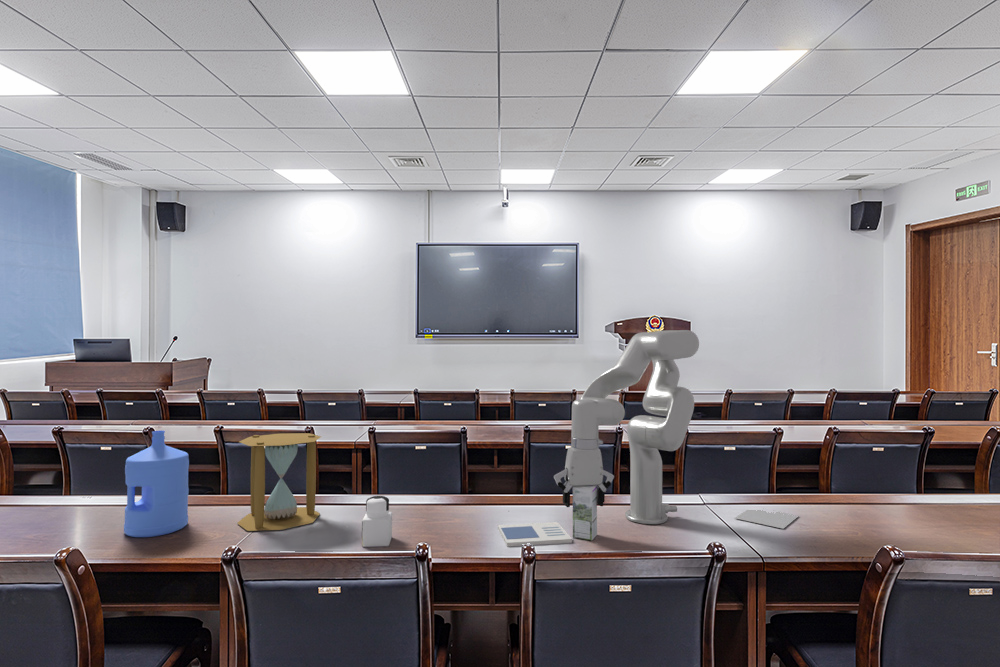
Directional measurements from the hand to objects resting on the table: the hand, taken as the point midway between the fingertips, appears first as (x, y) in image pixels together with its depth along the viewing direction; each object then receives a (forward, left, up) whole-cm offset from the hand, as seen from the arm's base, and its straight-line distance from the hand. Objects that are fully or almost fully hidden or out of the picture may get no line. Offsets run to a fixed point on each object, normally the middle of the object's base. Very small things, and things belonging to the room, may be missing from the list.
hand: (583, 505), depth 151 cm
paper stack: (-61, 0, -9) cm, 62 cm away
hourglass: (+86, -29, -9) cm, 92 cm away
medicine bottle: (+56, -5, -9) cm, 57 cm away
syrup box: (-1, 0, -9) cm, 9 cm away
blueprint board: (+13, -3, -9) cm, 16 cm away
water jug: (+119, -26, -9) cm, 123 cm away
